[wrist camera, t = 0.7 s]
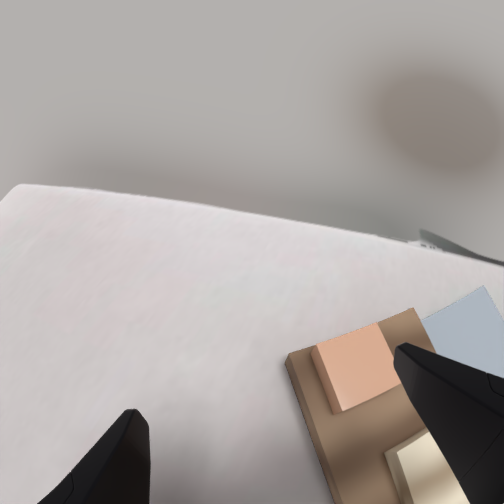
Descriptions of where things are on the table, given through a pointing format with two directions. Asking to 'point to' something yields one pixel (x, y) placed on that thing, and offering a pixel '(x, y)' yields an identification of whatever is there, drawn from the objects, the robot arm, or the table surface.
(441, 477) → the birch tile
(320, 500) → the table surface
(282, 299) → the table surface
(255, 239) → the table surface
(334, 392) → the terracotta tile
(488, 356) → the mat
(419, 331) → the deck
